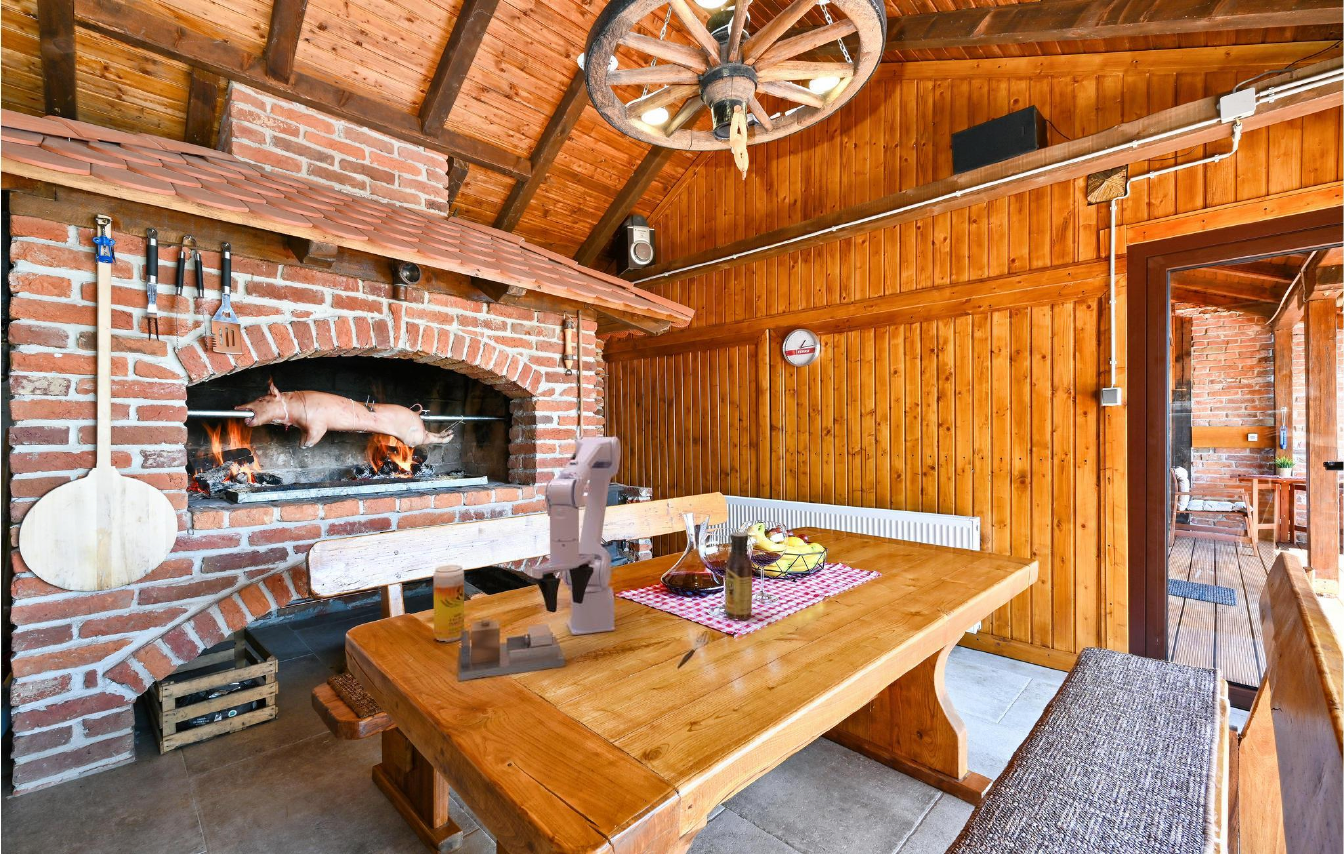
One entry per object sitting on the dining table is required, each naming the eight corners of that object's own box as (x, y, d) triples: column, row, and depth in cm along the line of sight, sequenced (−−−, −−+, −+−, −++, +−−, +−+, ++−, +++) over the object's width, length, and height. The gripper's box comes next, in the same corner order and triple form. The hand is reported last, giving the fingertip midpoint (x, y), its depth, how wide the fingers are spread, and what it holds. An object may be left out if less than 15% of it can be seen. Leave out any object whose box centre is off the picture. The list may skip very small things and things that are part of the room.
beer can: (454, 644, 124) (453, 572, 124) (428, 641, 125) (427, 570, 125) (469, 633, 130) (469, 565, 130) (444, 631, 131) (444, 563, 131)
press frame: (555, 643, 124) (555, 617, 124) (564, 666, 113) (564, 637, 113) (458, 655, 118) (458, 628, 118) (458, 681, 106) (458, 650, 106)
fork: (671, 669, 112) (671, 658, 112) (698, 639, 127) (698, 630, 127) (684, 671, 111) (684, 660, 111) (709, 641, 126) (709, 632, 126)
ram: (547, 641, 120) (547, 624, 120) (552, 652, 115) (551, 634, 115) (522, 644, 119) (522, 626, 119) (525, 655, 113) (525, 637, 113)
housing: (498, 649, 117) (498, 613, 117) (499, 659, 112) (499, 621, 112) (471, 653, 115) (471, 616, 115) (471, 663, 110) (471, 624, 110)
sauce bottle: (723, 613, 143) (723, 530, 143) (748, 612, 144) (748, 530, 143) (728, 622, 137) (728, 536, 136) (754, 621, 137) (754, 535, 137)
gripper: (578, 530, 126) (578, 594, 127) (522, 542, 115) (522, 611, 115) (601, 534, 122) (601, 600, 122) (545, 547, 111) (545, 619, 111)
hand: (564, 606), depth 118 cm, fingers open, 6 cm apart
